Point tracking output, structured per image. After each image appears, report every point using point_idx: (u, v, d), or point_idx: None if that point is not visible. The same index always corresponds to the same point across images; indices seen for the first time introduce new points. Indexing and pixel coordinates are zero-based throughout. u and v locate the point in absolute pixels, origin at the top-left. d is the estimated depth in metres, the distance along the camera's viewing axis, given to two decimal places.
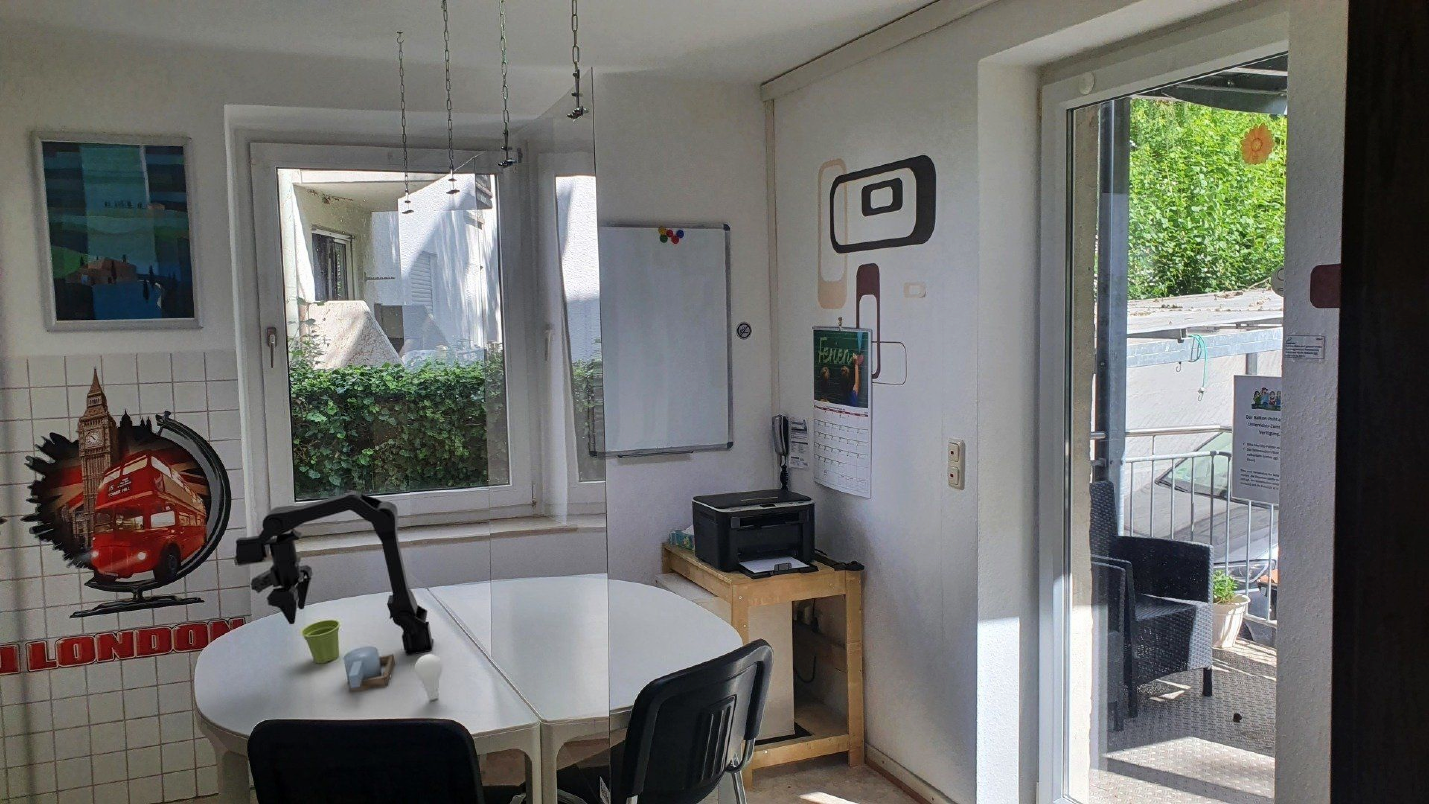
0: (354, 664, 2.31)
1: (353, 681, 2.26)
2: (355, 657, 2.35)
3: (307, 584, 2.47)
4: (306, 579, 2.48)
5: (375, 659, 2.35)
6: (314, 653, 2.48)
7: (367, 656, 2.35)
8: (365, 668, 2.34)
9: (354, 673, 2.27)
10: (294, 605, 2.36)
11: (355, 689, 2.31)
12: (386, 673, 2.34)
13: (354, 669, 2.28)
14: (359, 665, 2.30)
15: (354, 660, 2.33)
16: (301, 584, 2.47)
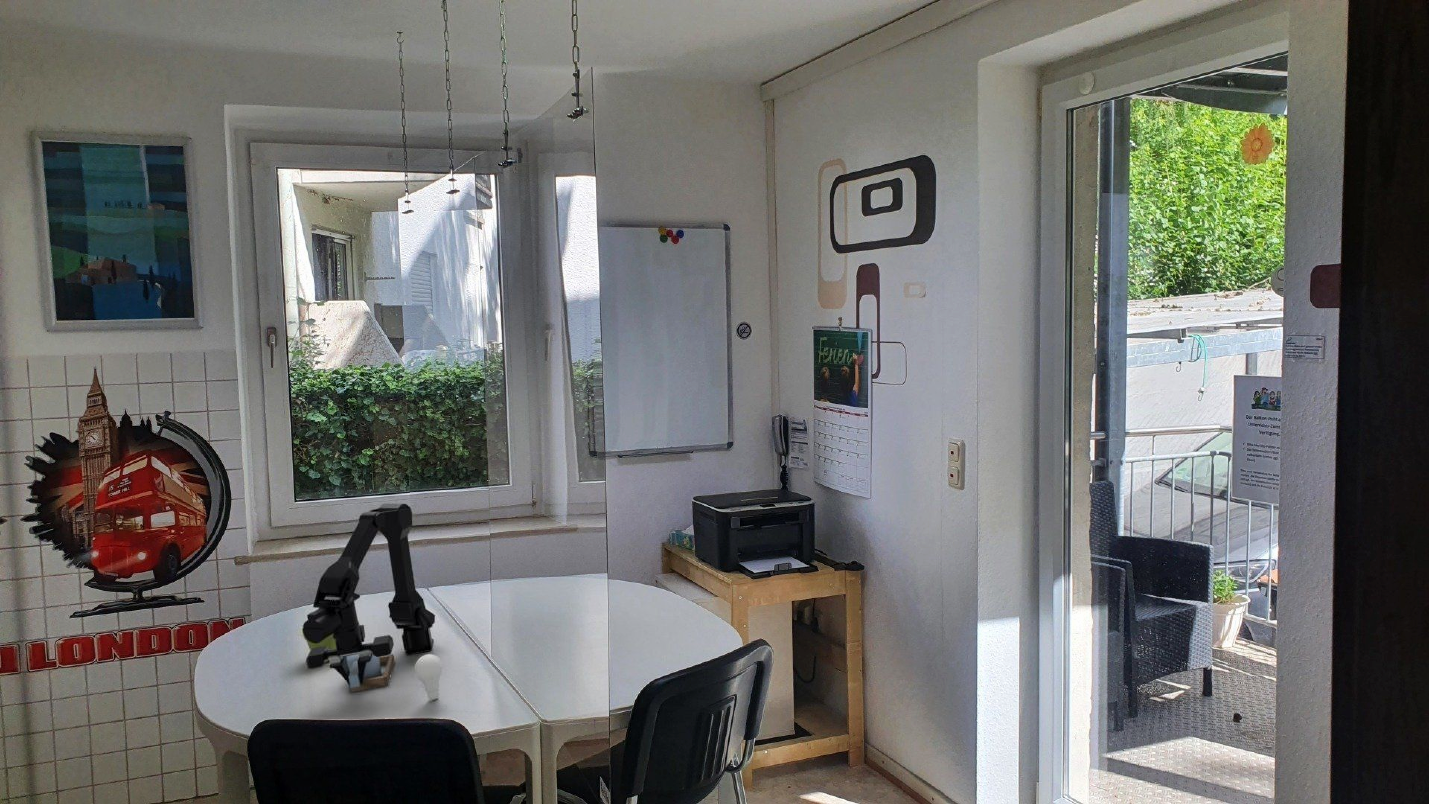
0: (354, 664, 2.31)
1: (353, 681, 2.26)
2: (355, 657, 2.35)
3: None
4: (364, 658, 2.25)
5: (375, 659, 2.35)
6: None
7: None
8: (365, 668, 2.34)
9: (354, 673, 2.26)
10: None
11: (355, 689, 2.31)
12: (386, 673, 2.34)
13: (354, 669, 2.28)
14: None
15: (354, 660, 2.33)
16: None
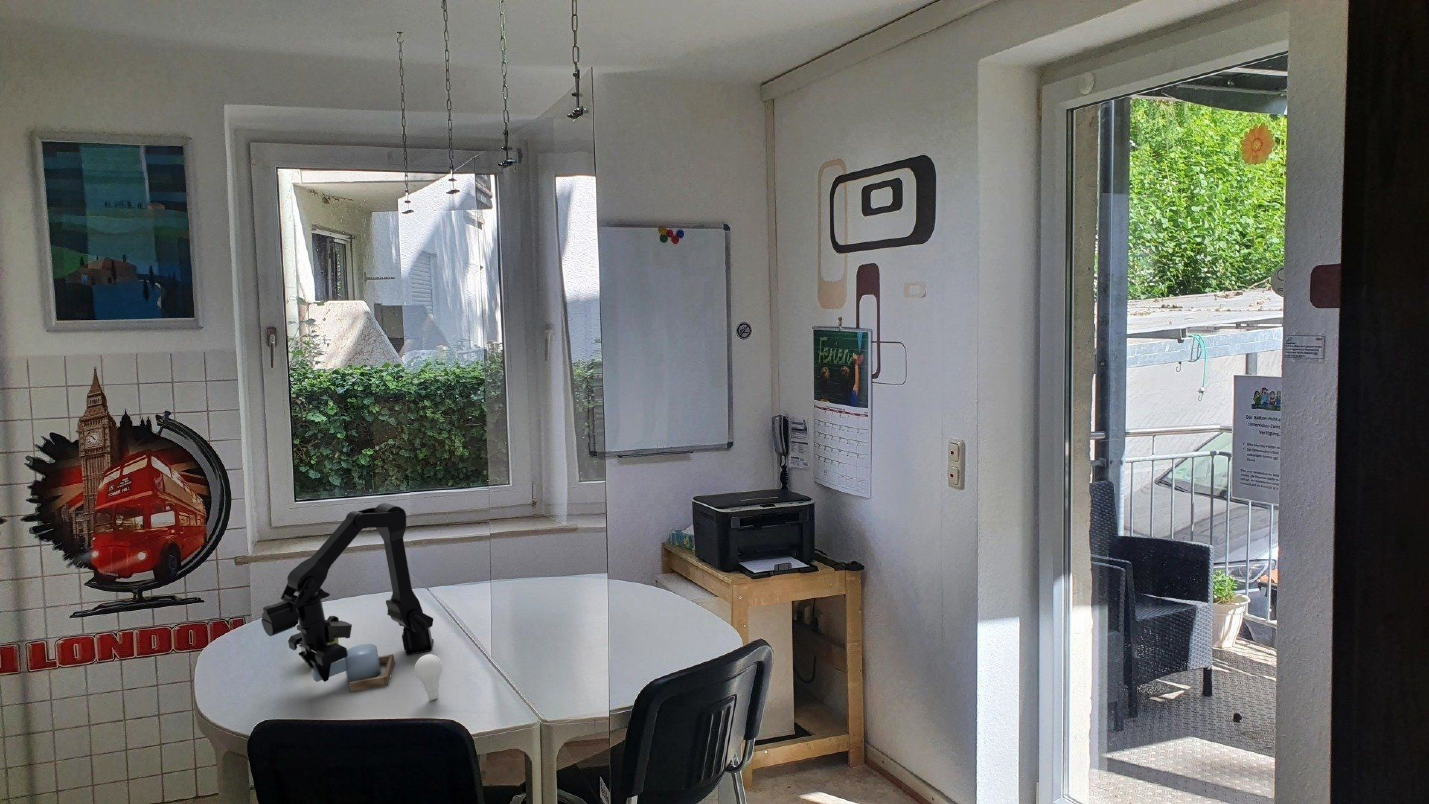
0: None
1: (313, 675, 2.31)
2: (351, 653, 2.37)
3: None
4: None
5: (358, 663, 2.34)
6: None
7: (354, 657, 2.35)
8: (348, 667, 2.35)
9: None
10: None
11: (355, 689, 2.31)
12: (386, 673, 2.34)
13: None
14: (334, 662, 2.33)
15: None
16: None
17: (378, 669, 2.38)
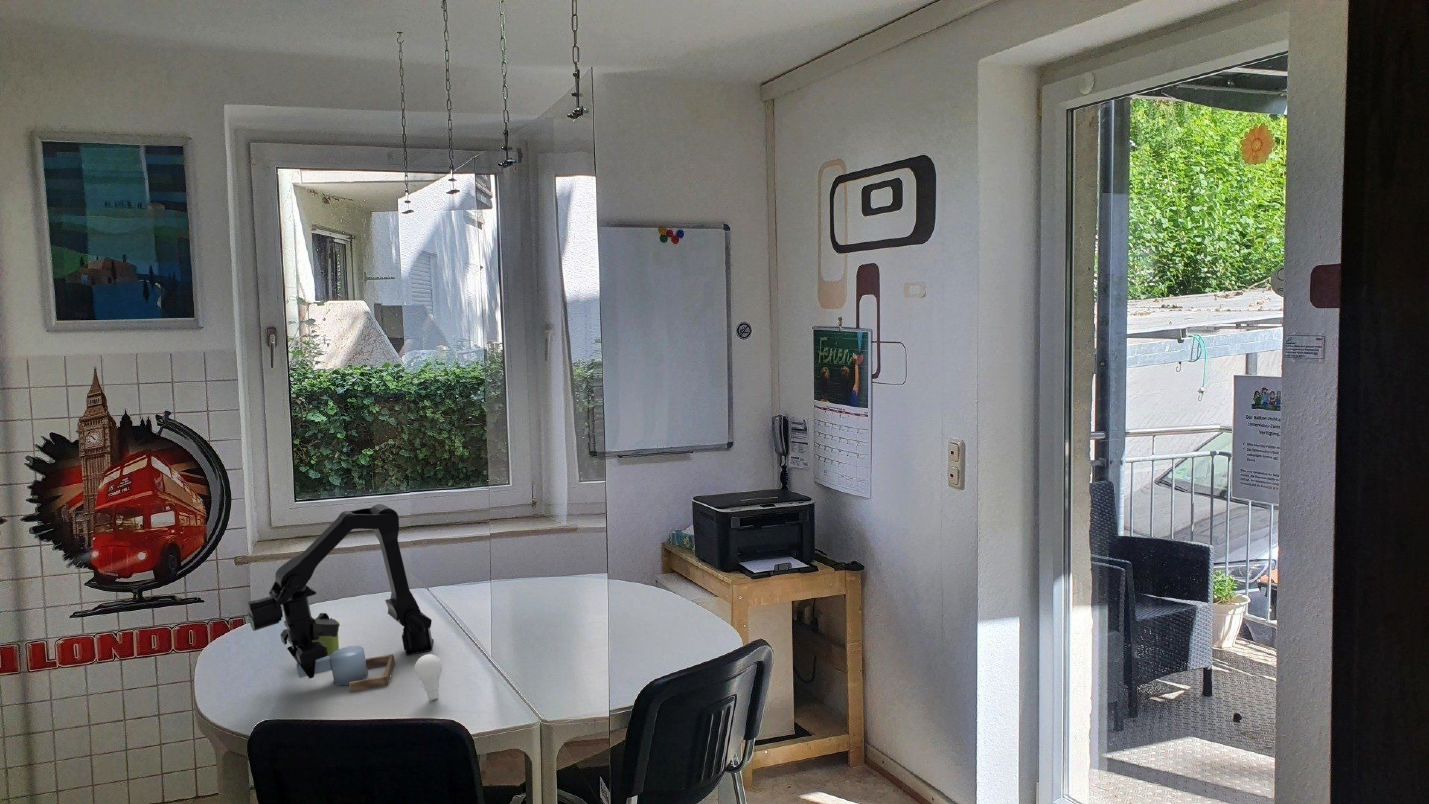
0: (323, 657, 2.36)
1: None
2: (339, 653, 2.38)
3: None
4: None
5: (339, 665, 2.34)
6: None
7: (337, 658, 2.35)
8: (332, 667, 2.35)
9: None
10: None
11: (355, 689, 2.31)
12: (386, 673, 2.34)
13: None
14: (318, 661, 2.34)
15: (333, 654, 2.37)
16: None
17: (362, 673, 2.37)
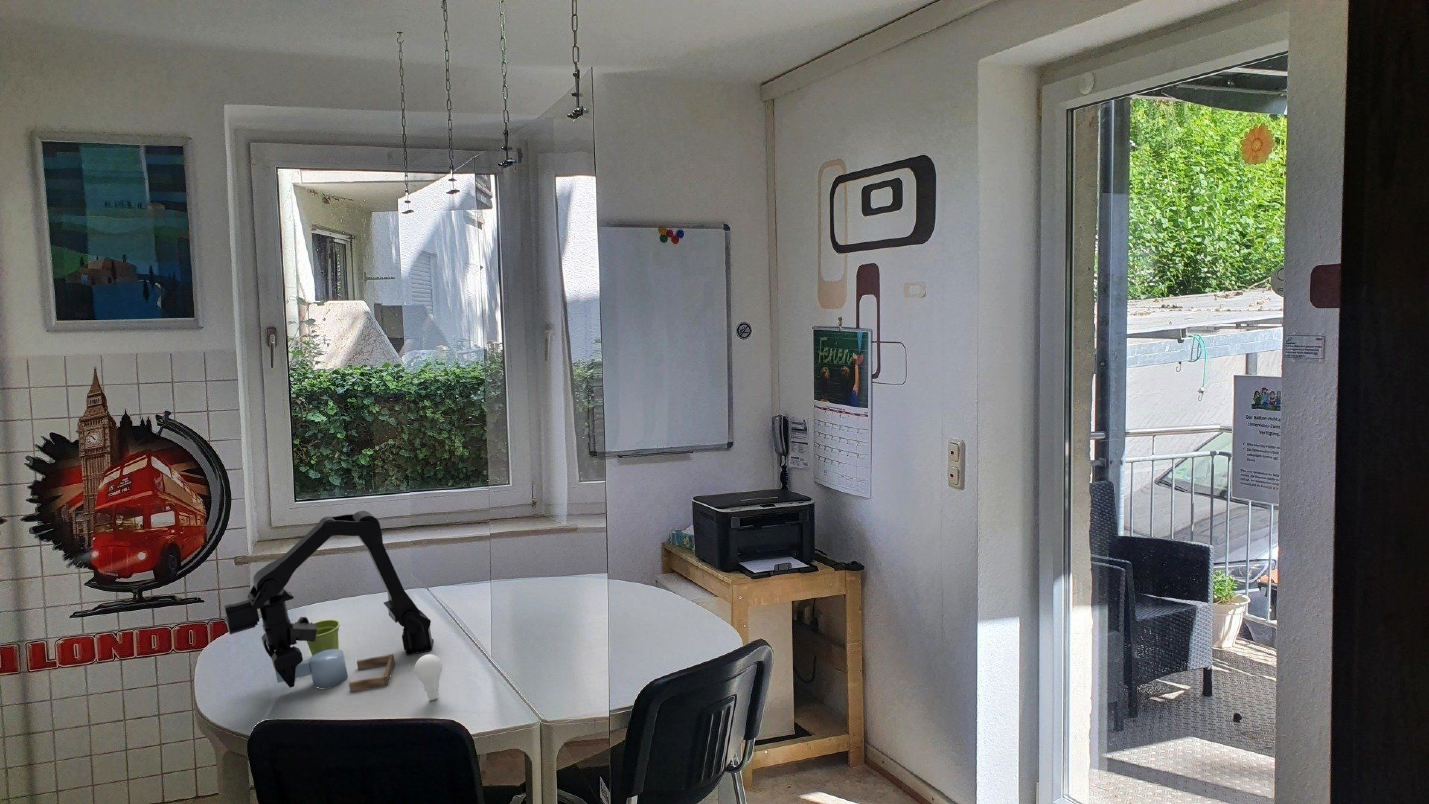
0: (302, 661, 2.35)
1: None
2: (318, 657, 2.37)
3: None
4: None
5: (319, 669, 2.33)
6: (314, 653, 2.48)
7: (316, 662, 2.34)
8: (311, 671, 2.35)
9: None
10: None
11: (355, 689, 2.31)
12: (386, 673, 2.34)
13: None
14: (297, 665, 2.34)
15: (312, 658, 2.37)
16: None
17: (341, 676, 2.36)
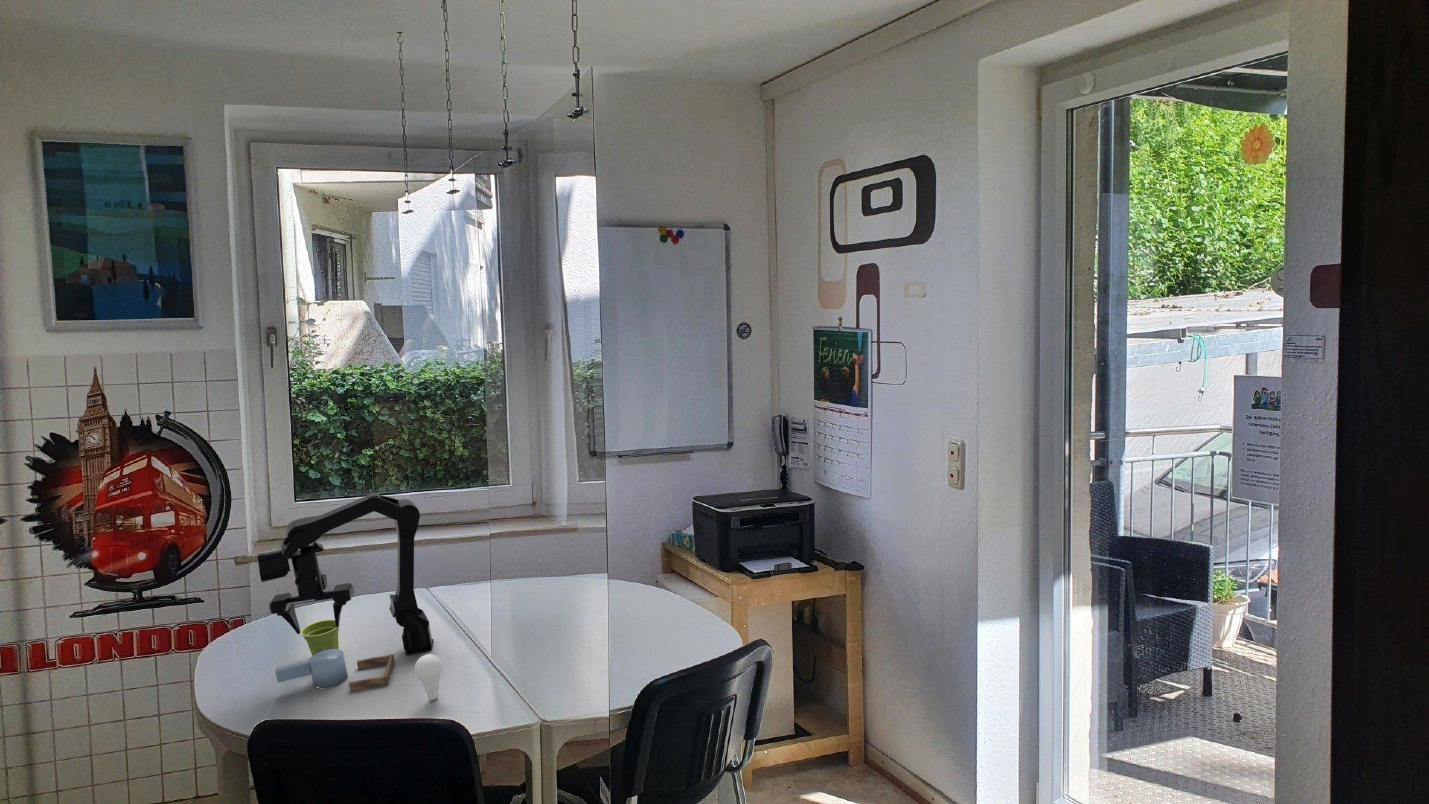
0: (302, 661, 2.35)
1: None
2: (318, 657, 2.37)
3: (333, 607, 2.37)
4: None
5: (319, 669, 2.33)
6: (314, 653, 2.48)
7: (316, 662, 2.34)
8: (311, 671, 2.35)
9: (280, 668, 2.33)
10: None
11: (355, 689, 2.31)
12: (386, 673, 2.34)
13: (289, 666, 2.34)
14: (297, 665, 2.34)
15: (312, 658, 2.37)
16: None
17: (341, 676, 2.36)
